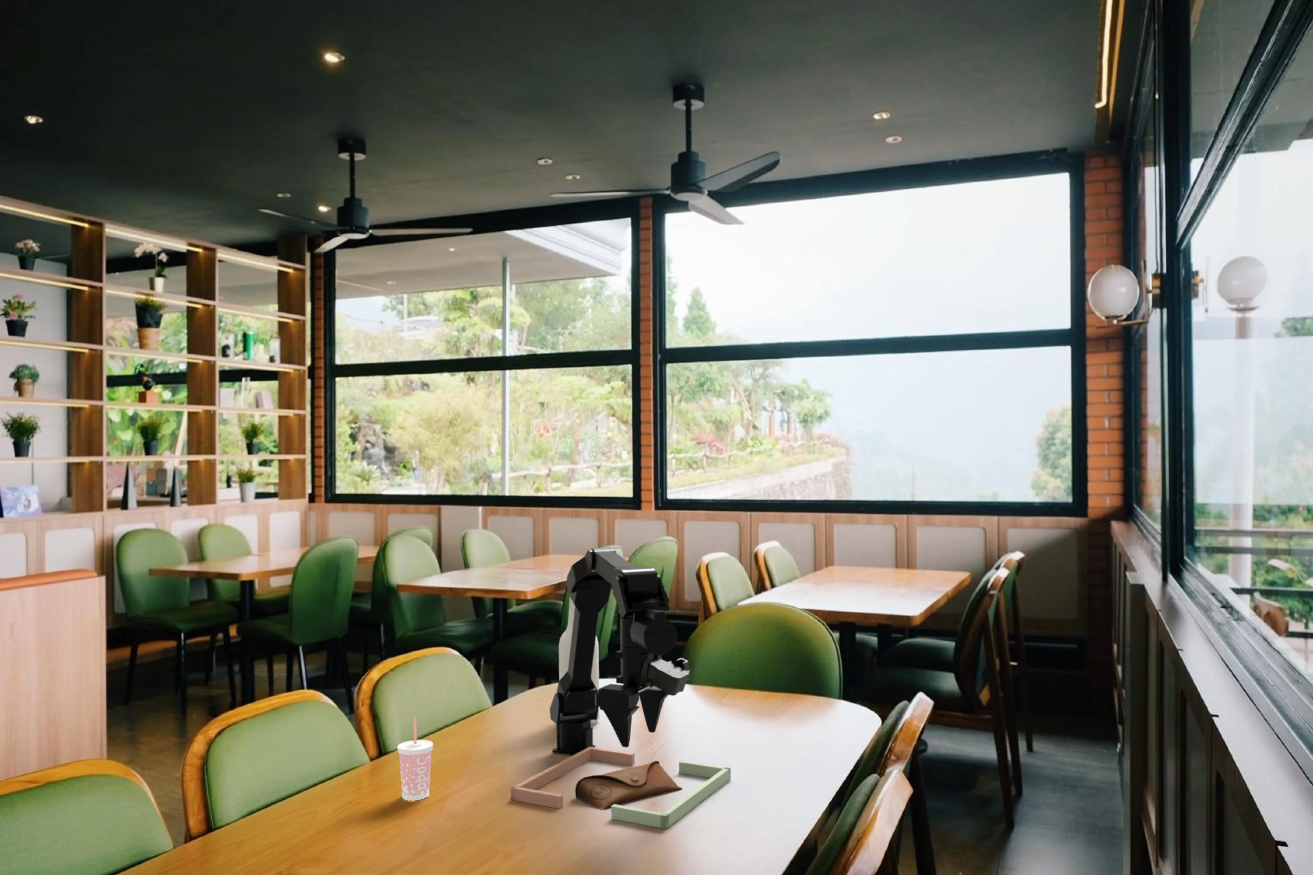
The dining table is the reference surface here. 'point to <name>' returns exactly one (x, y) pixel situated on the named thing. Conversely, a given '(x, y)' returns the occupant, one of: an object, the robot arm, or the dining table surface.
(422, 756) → the beverage cup
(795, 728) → the dining table surface
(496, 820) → the dining table surface
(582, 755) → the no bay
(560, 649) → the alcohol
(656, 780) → the sunglasses case
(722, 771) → the mint green arch
